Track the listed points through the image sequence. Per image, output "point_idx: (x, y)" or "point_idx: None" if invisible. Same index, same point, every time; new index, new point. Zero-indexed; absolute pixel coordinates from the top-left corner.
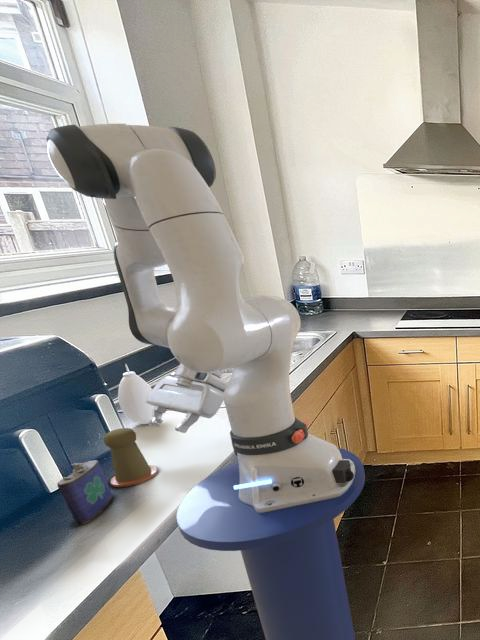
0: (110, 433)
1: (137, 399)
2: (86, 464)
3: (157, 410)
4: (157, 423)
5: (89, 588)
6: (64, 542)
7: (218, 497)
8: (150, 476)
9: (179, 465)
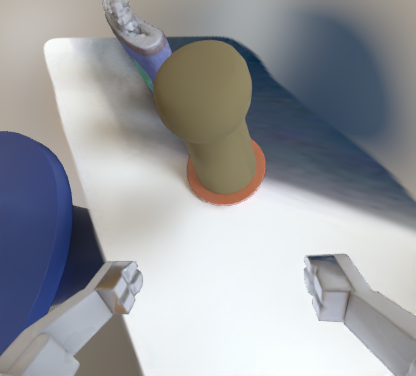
0: (194, 46)
1: None
2: (151, 34)
3: (409, 367)
4: (309, 281)
5: (53, 73)
6: (136, 69)
7: (4, 188)
8: (188, 179)
9: (186, 238)
